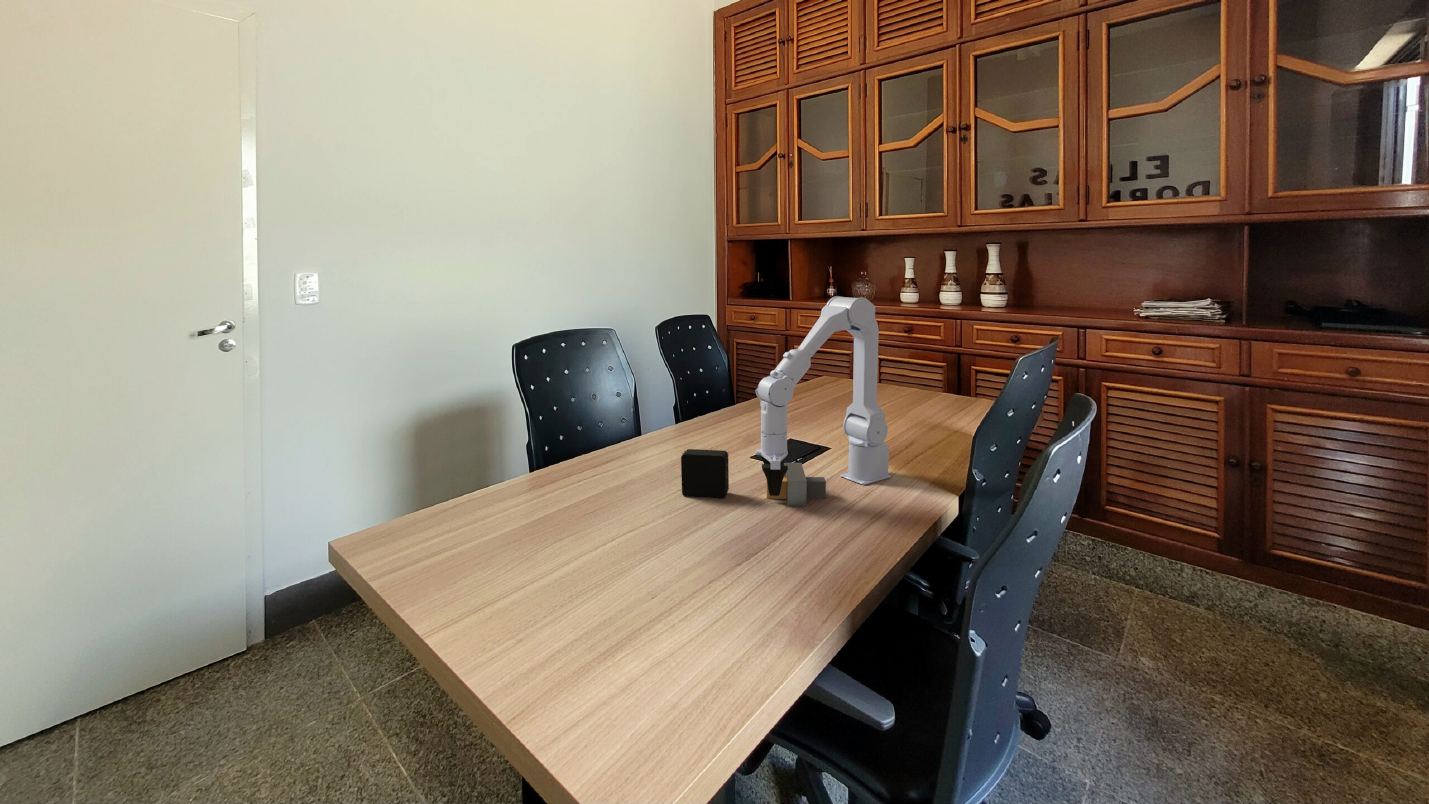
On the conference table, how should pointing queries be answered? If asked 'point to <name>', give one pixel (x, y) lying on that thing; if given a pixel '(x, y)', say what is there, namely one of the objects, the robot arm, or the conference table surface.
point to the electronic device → (705, 473)
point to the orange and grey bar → (814, 489)
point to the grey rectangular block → (795, 485)
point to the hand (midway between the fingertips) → (773, 489)
